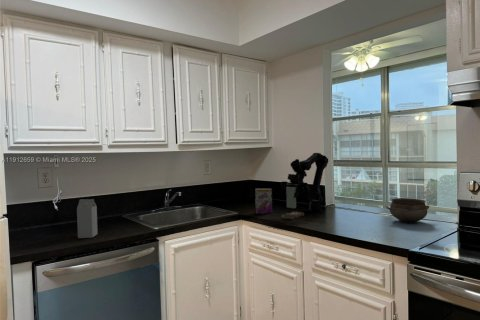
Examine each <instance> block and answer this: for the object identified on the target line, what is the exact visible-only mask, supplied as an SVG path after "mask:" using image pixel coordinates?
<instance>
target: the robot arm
mask: <svg viewBox="0 0 480 320" xmlns="http://www.w3.org/2000/svg"><path fill="white" fill-rule="evenodd" d="M313 164H315V167H316V168H315V173H314V177H313V181H312V186H311V187H310V185H309V184H308V182H304V179H305V177H307V176H308V175H307V172H306V171H310V170H311V169H312V165H313ZM328 164H329V158H328V157H327V156H326V155H323V154H322V153H320V152H313V153H312V154H311V155H310V156H309V157H308V158H306V159H305V160H299V158H296V159H295V160H293V161H291V162H290V167H291V169H292V171H293V172H294V173H288V175H287V180H289V182H288V181H281V182H280V184H279V185H280V187H282V189H283V190H284V191H286V187H296V192H295V194H294V198H296V199H297V197H299V196H300V195H301V194H303V193H305V192H307V195H306V196H307V201H308V202H309V210H310V211H311V212H322V209H321V205H322V204H321V203H322V202H323V200H324V198H323V195H322V192H321V189H320V187H321V183H322V179H323V173H324V169H326V168H327V166H328ZM285 198H287V195H286V193H285Z"/></svg>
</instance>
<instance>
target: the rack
mask: <svg viewBox="0 0 480 320" xmlns="http://www.w3.org/2000/svg"><path fill="white" fill-rule="evenodd" d="M291 213H300V216H299V217H301V216H302V217H304V216H305V213H304V212H299V211H292V212H291ZM299 217H298V215H294V214H289V213H287V212H286V213H285V214H281V218H282V219H288V220H294V219H298V218H299Z"/></svg>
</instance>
